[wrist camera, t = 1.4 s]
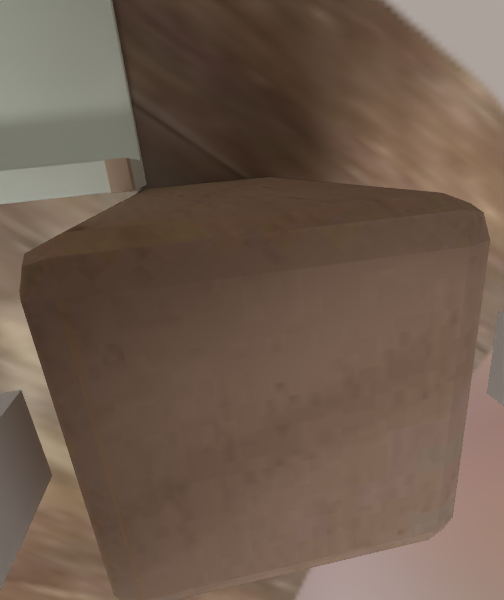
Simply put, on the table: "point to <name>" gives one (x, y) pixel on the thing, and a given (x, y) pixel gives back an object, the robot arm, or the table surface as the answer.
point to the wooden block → (259, 373)
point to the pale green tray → (64, 102)
